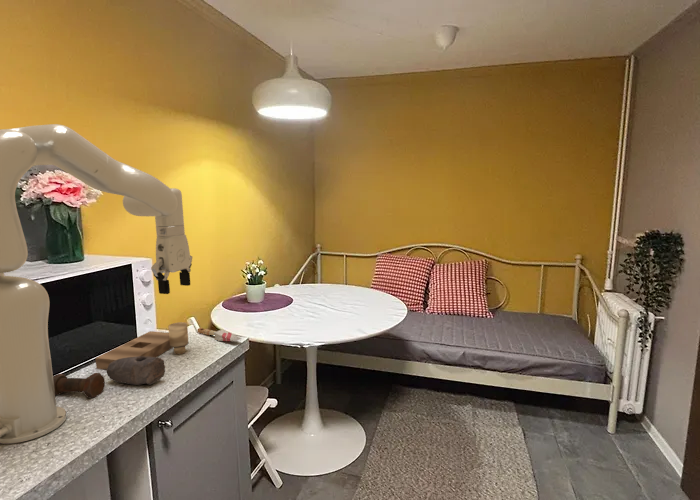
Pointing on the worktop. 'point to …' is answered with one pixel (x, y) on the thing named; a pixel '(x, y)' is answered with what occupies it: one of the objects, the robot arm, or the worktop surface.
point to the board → (137, 348)
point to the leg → (178, 337)
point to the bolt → (79, 384)
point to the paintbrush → (219, 334)
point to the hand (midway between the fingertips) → (175, 289)
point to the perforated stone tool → (136, 370)
